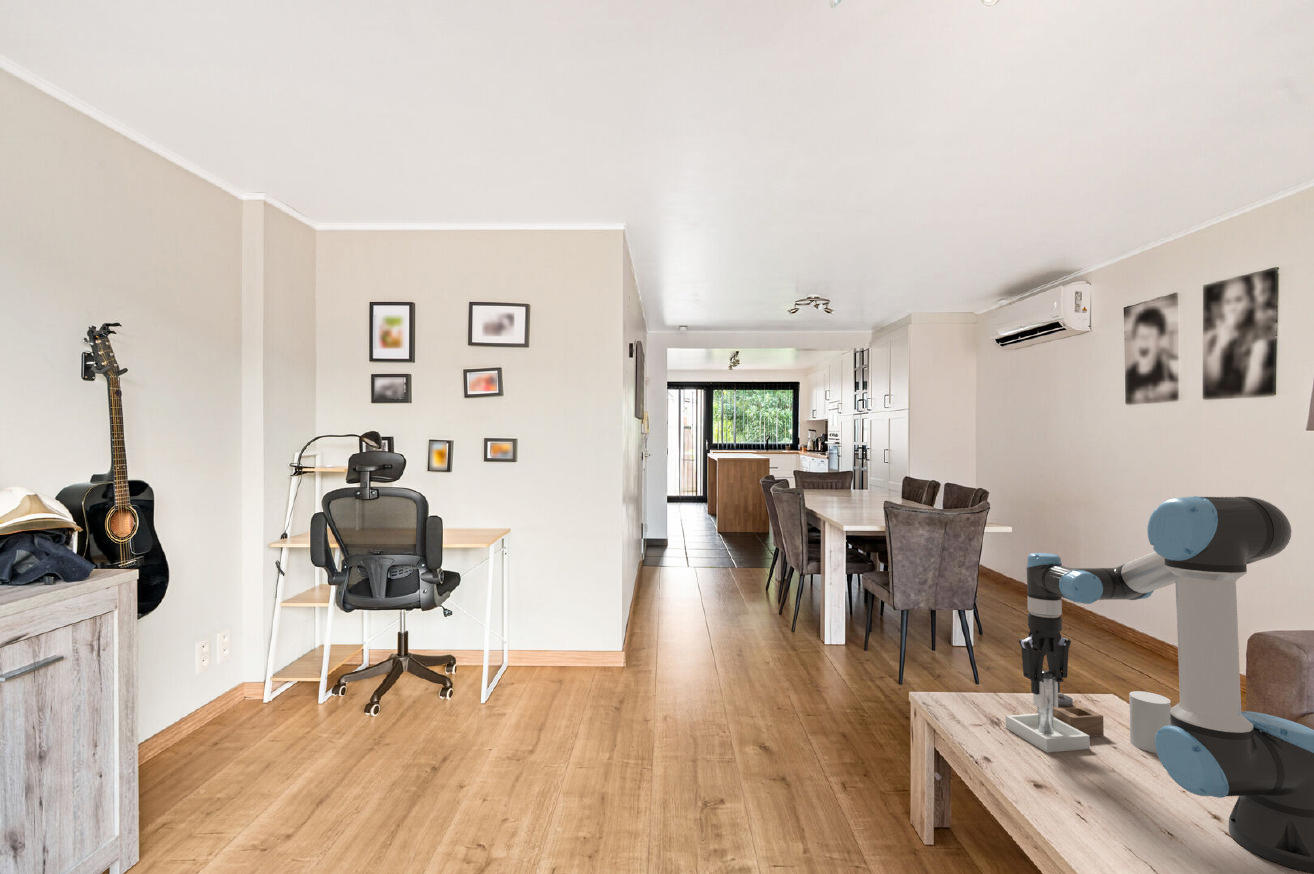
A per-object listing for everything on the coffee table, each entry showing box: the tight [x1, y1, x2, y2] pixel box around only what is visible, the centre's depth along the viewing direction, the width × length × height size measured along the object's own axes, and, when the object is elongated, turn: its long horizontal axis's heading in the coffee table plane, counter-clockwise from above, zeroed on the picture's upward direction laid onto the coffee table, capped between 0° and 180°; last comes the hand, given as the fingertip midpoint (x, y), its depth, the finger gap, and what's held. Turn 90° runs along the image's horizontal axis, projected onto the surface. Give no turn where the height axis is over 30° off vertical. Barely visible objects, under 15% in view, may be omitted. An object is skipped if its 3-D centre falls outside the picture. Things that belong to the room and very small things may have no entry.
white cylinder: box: [1128, 690, 1172, 754], centre depth 157 cm, size 8×8×12 cm
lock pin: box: [1038, 669, 1054, 735], centre depth 162 cm, size 3×3×15 cm
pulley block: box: [1036, 692, 1105, 737], centre depth 168 cm, size 12×9×8 cm
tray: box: [1005, 713, 1091, 753], centre depth 161 cm, size 14×12×3 cm
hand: (1045, 705), depth 162 cm, fingers closed on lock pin, 3 cm apart
